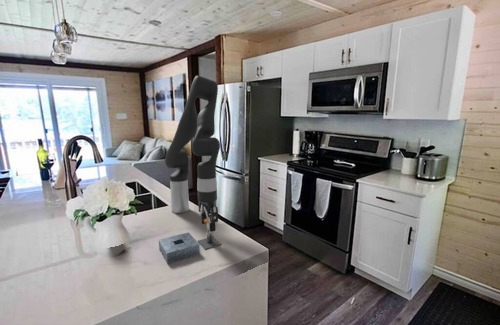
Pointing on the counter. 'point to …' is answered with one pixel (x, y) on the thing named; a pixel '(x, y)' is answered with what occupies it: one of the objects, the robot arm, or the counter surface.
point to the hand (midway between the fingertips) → (208, 227)
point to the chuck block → (178, 247)
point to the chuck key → (209, 234)
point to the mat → (209, 245)
